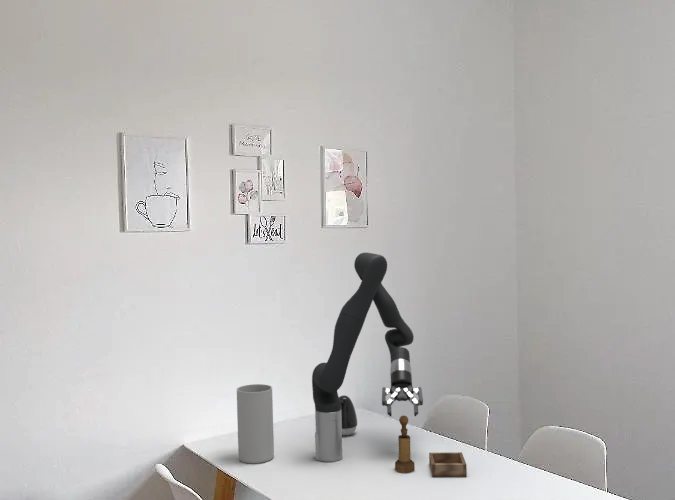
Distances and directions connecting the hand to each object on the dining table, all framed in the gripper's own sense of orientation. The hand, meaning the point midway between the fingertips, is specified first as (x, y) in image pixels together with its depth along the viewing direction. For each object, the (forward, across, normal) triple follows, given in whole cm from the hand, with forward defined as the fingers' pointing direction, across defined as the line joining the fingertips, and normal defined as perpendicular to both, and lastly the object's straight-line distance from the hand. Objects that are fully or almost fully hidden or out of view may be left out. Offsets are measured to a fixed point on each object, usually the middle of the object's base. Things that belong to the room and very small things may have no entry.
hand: (403, 415), depth 235 cm
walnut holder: (+17, +14, +6) cm, 23 cm away
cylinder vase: (+8, -52, +15) cm, 55 cm away
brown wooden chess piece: (+17, 0, +6) cm, 18 cm away
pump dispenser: (-12, -22, +35) cm, 43 cm away
